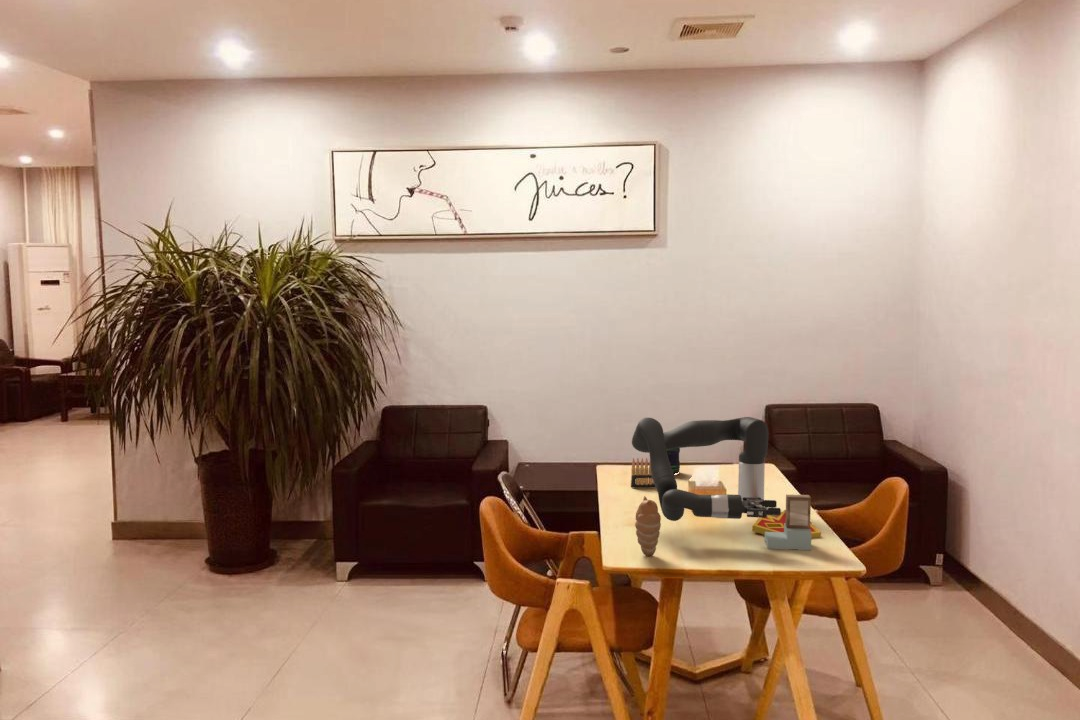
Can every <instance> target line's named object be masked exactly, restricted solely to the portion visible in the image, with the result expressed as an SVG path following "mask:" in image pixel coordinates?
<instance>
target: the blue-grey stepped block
mask: <svg viewBox="0 0 1080 720" xmlns="http://www.w3.org/2000/svg"><path fill="white" fill-rule="evenodd" d="M764 542H765V545H766V548H767V549H768V550H788V549H798V550H797V551H811V550H812V538H811V530H810V529H791V528H787V527H786V526H785V523H784V532H765V535H764Z"/></svg>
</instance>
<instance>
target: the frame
mask: <svg viewBox="0 0 1080 720" xmlns="http://www.w3.org/2000/svg"><path fill="white" fill-rule="evenodd" d="M811 505H812V497H811V496H810V495H809V494H785V510H786V519H785V526H786V527H787V528H791V529H810V522H811Z"/></svg>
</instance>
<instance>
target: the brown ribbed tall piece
mask: <svg viewBox="0 0 1080 720" xmlns="http://www.w3.org/2000/svg"><path fill="white" fill-rule="evenodd" d="M635 520H636V521H635V523H634V526H635V529H636V530H635V535H636V537H637V543H638V544H639V546H640V549H641V552H642V554H643V555H645V556H646V557H651V556H653V555H655V553H656V551H657V545H658V542H659V537H660V534H661V533H660V530H661V527H662V526H661V525H662V524H661V520H662V518H661V515H660V513H659V507H658V504H657V503H656V502H655V501H654V500H652V499H648V498H647V497H646V495H644V496H643V501H641V503H640V504H639V505H638V507H637V510H636V512H635Z"/></svg>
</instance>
